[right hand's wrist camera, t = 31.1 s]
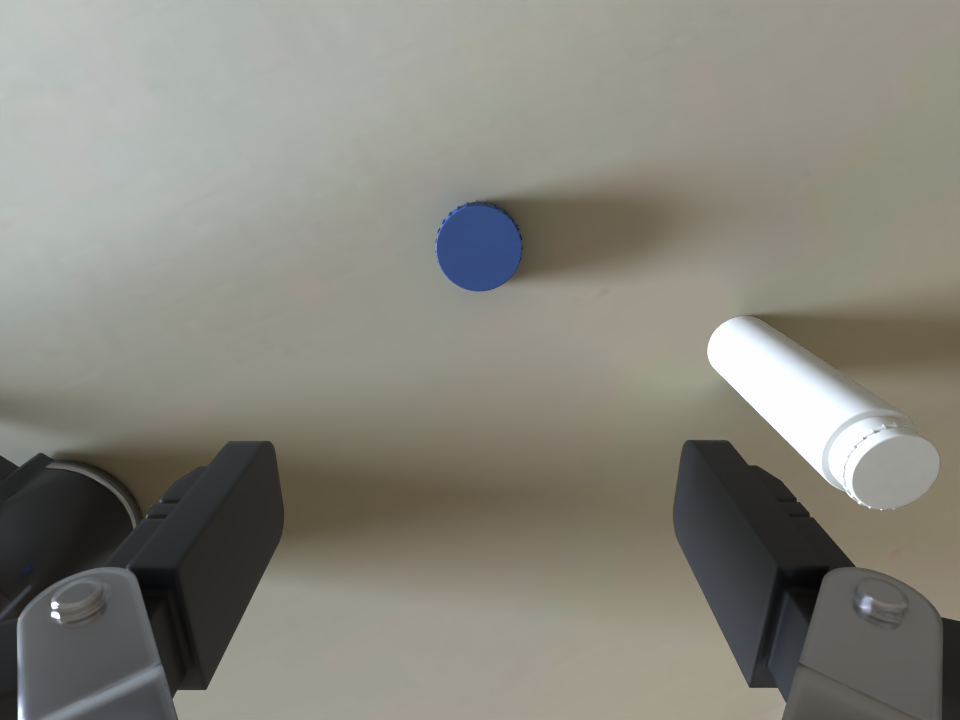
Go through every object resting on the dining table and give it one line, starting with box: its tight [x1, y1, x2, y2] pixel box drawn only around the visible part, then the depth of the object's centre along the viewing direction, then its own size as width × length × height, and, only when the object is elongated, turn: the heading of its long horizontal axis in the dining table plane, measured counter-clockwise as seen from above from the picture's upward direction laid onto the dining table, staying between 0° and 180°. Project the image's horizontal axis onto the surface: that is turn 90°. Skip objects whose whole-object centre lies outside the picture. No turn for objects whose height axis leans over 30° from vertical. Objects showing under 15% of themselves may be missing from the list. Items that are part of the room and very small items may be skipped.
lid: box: [435, 201, 523, 291], centre depth 35 cm, size 5×5×2 cm
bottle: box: [708, 316, 940, 510], centre depth 31 cm, size 4×4×15 cm
